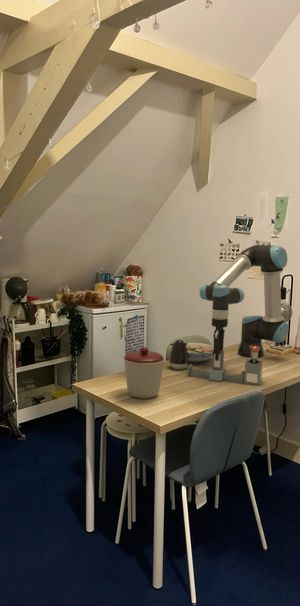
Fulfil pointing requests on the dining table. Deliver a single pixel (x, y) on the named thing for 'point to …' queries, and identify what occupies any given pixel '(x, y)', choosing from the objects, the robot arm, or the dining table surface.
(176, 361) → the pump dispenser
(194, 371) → the rail
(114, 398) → the dining table surface
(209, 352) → the ramen bowl
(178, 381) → the dining table surface
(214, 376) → the carriage
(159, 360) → the canister
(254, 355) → the plunger
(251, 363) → the grey square housing
